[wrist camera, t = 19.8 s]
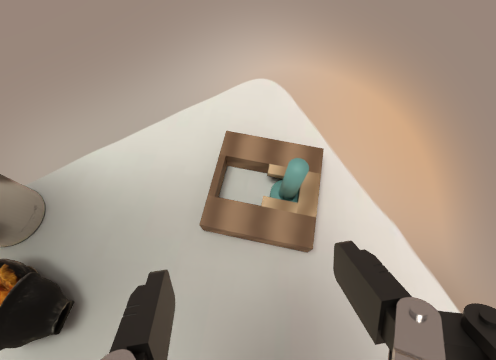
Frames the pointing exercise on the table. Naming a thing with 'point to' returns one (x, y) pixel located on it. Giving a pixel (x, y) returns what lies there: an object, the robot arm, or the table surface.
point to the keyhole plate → (272, 210)
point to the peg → (291, 181)
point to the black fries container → (28, 305)
